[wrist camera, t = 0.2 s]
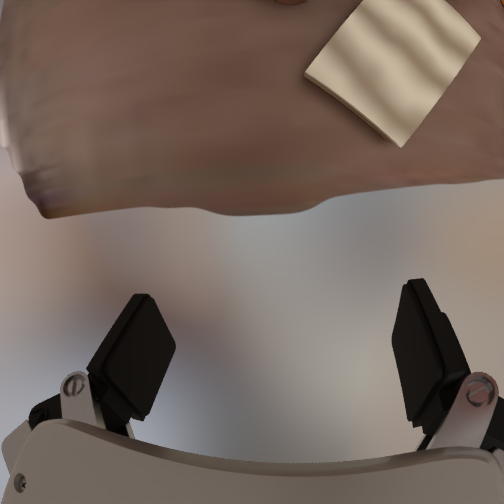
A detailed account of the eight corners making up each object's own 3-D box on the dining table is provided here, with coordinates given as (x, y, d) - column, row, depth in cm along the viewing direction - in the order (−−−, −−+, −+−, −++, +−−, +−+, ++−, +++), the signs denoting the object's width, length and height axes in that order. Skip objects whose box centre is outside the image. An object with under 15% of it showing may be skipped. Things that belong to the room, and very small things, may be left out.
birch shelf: (385, -23, 19) (397, -37, 14) (459, 42, 21) (481, 38, 16) (303, 76, 30) (305, 71, 25) (386, 139, 33) (401, 147, 27)
